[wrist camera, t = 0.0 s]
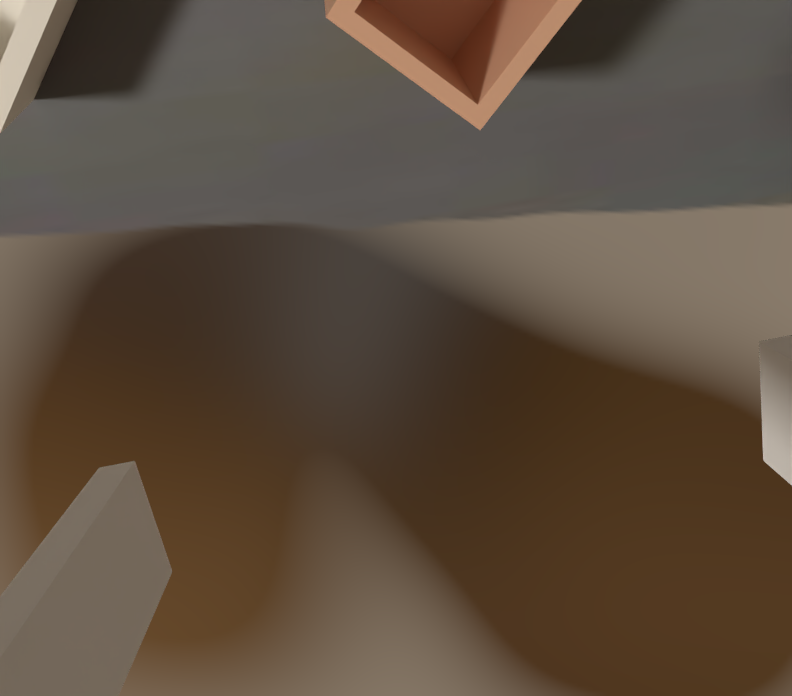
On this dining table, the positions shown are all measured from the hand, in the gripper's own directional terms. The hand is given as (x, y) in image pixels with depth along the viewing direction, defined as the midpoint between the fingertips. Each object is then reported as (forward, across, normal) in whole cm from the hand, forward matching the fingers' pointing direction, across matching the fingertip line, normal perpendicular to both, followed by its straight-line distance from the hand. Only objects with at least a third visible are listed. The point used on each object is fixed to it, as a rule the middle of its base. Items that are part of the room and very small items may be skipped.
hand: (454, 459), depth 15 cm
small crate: (+25, +4, +14) cm, 29 cm away
